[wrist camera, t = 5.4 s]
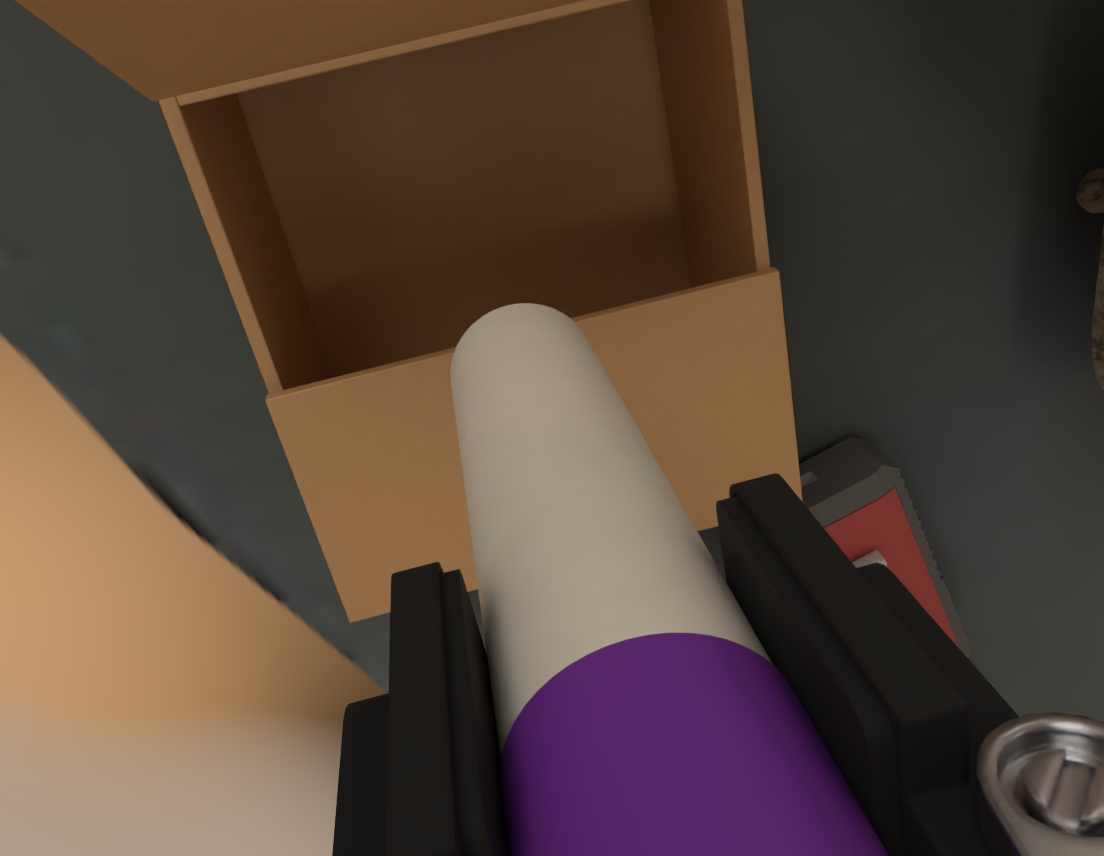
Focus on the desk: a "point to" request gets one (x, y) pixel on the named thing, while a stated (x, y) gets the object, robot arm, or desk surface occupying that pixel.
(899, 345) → the desk surface
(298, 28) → the flap
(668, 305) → the carton
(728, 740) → the marker
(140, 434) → the desk surface
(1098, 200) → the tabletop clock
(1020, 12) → the desk surface
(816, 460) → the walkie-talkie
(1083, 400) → the desk surface
